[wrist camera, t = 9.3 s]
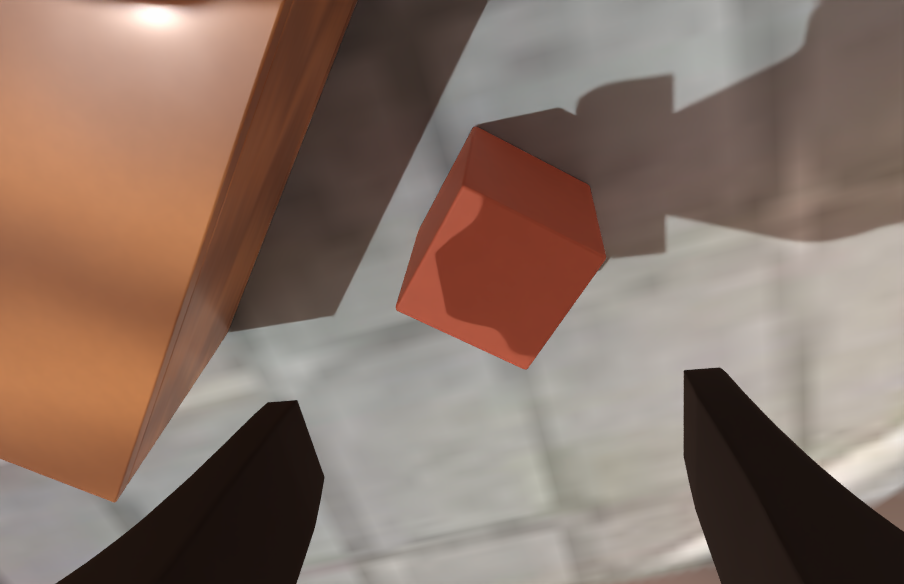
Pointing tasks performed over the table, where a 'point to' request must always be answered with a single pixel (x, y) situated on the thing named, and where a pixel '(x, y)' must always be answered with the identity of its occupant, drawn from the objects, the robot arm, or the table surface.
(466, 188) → the block
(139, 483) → the table surface
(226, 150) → the cabinet
